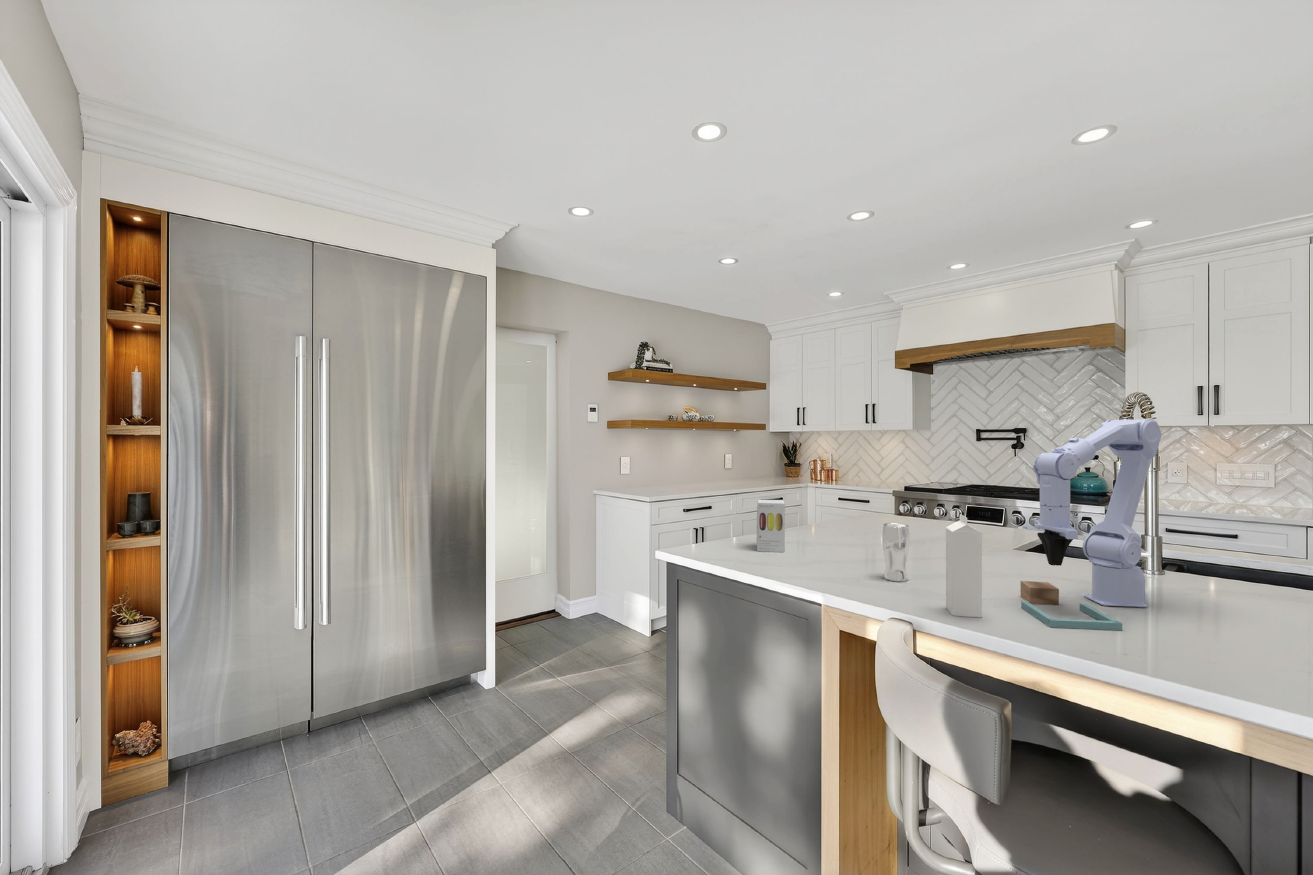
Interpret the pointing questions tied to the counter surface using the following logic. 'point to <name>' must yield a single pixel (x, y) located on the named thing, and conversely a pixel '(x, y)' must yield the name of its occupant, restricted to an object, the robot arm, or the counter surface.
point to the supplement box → (771, 526)
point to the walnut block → (1039, 593)
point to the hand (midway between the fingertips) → (1054, 564)
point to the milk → (963, 569)
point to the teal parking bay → (1101, 623)
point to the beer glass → (895, 551)
